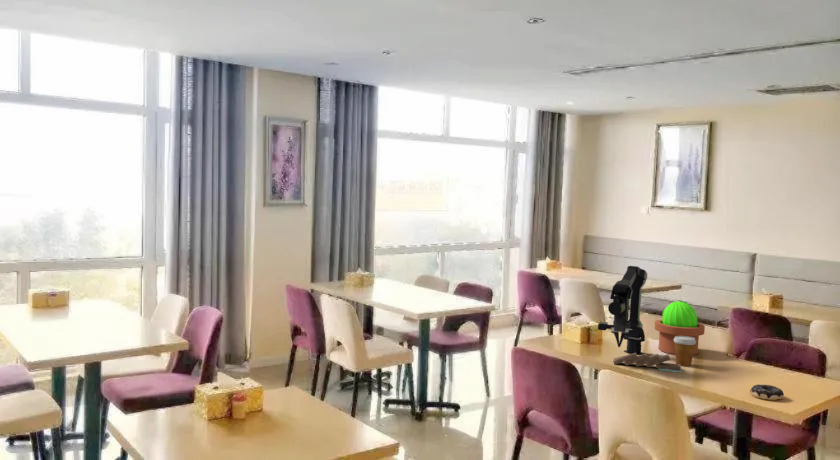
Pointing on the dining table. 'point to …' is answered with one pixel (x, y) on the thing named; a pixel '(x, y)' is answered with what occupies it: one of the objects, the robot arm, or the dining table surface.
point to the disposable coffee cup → (684, 350)
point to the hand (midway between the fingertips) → (619, 346)
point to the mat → (669, 370)
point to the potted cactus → (678, 326)
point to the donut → (767, 392)
